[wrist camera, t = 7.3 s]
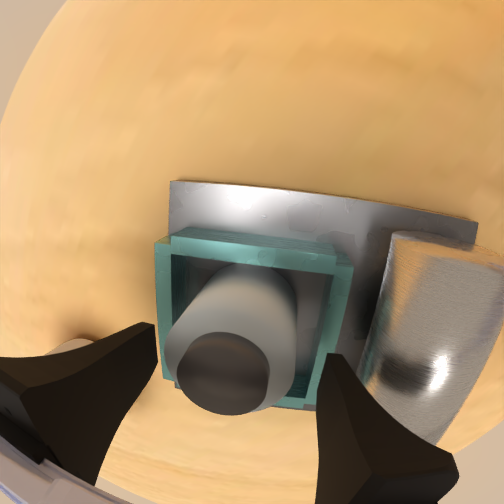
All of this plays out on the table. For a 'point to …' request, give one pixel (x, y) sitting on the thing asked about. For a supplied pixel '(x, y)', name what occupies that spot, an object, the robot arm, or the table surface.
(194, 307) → the grey capped cylinder
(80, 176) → the table surface
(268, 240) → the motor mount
